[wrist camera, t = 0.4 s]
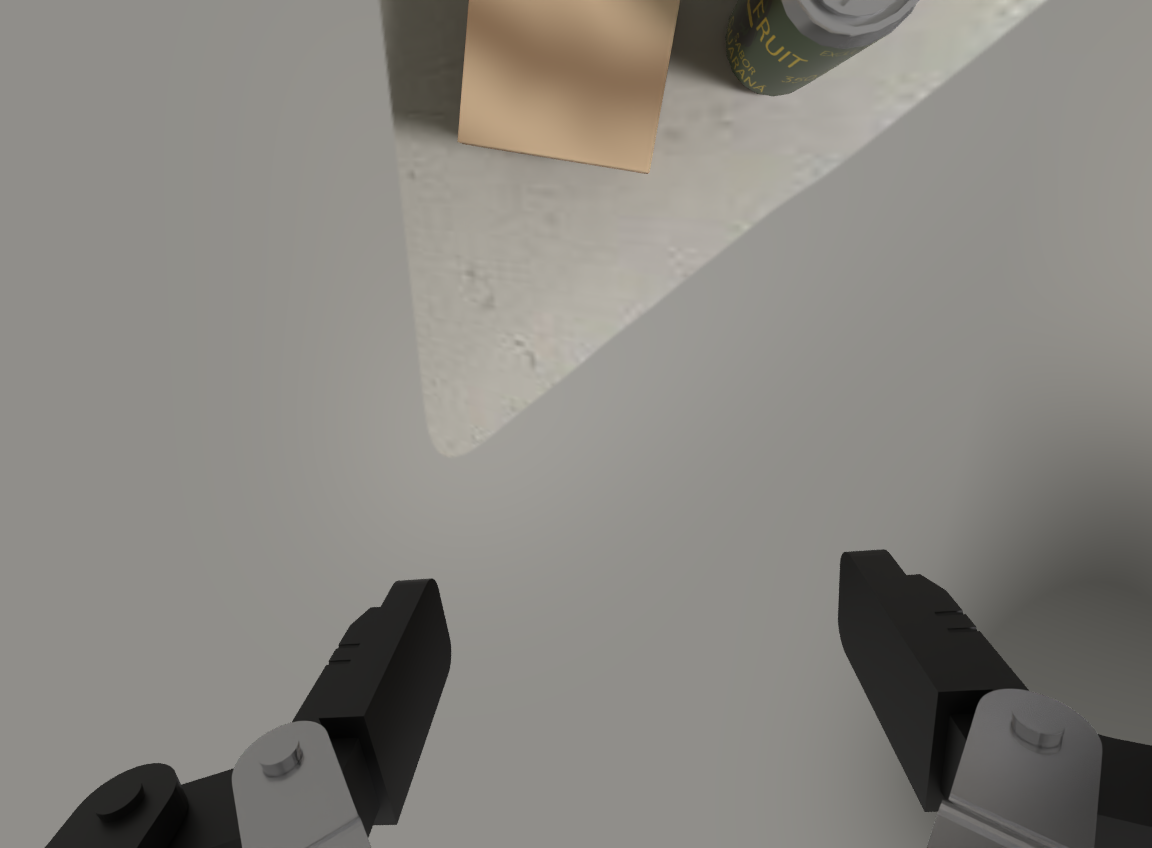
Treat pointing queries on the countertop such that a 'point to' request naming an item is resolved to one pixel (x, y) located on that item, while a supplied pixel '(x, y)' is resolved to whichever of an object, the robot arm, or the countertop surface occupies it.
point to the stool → (567, 78)
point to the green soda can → (803, 38)
